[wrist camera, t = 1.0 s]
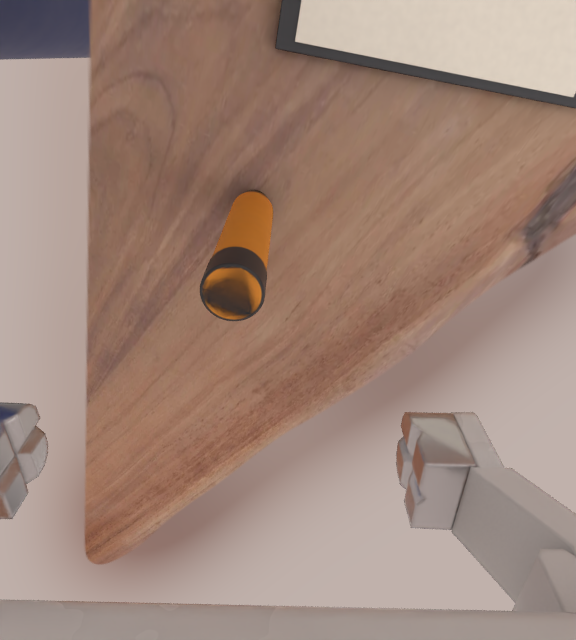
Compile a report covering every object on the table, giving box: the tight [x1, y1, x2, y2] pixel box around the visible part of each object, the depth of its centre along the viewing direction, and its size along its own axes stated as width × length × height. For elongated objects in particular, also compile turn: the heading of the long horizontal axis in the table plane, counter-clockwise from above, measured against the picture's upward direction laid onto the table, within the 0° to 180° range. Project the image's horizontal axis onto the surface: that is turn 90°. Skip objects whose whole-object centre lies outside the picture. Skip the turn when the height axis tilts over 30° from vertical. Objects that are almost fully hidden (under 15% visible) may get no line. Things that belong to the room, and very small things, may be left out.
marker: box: [200, 190, 273, 321], centre depth 25 cm, size 3×3×13 cm
